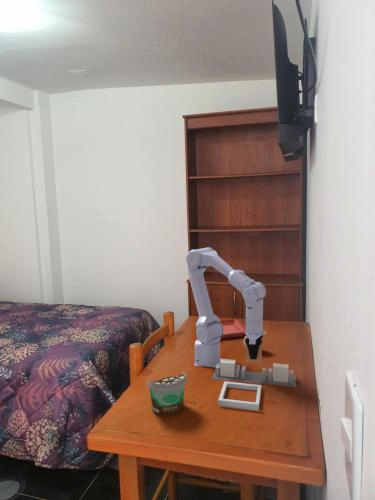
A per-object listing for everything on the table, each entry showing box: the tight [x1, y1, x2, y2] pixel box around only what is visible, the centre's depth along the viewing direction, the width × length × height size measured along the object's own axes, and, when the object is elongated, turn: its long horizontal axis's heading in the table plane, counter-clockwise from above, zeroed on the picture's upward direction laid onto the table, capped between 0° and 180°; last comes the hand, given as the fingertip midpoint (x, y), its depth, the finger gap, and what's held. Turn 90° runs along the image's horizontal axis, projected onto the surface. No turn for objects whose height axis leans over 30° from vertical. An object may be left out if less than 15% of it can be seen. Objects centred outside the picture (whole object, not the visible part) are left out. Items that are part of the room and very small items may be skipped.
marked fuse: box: [245, 346, 263, 364], centre depth 130 cm, size 5×3×5 cm, turn 76°
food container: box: [146, 371, 188, 417], centre depth 111 cm, size 12×6×10 cm, turn 117°
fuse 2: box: [272, 362, 290, 383], centre depth 128 cm, size 5×3×5 cm, turn 76°
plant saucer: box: [208, 318, 246, 340], centre depth 177 cm, size 18×18×3 cm
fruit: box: [243, 335, 265, 350], centre depth 153 cm, size 8×8×8 cm
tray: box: [217, 380, 262, 412], centre depth 118 cm, size 12×12×2 cm
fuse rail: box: [211, 363, 297, 388], centre depth 131 cm, size 28×8×4 cm, turn 76°
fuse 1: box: [220, 358, 237, 377], centre depth 133 cm, size 5×3×5 cm, turn 76°
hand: (253, 356), depth 130 cm, fingers closed on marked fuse, 3 cm apart
